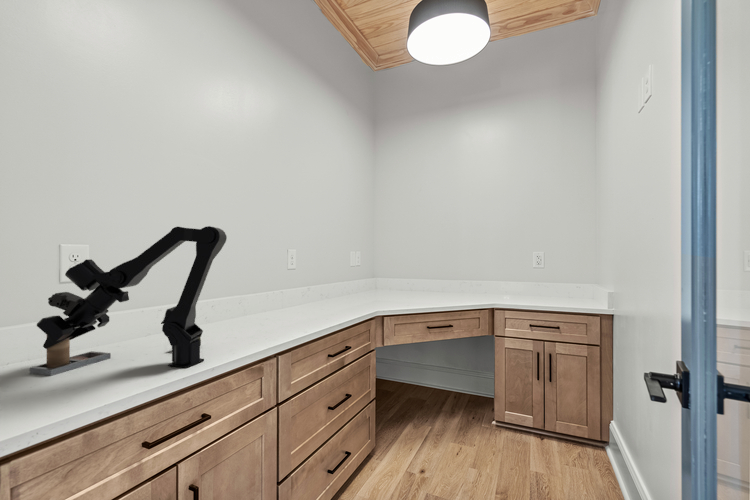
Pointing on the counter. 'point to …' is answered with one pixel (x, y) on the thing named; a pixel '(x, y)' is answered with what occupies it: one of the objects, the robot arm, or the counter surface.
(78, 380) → the counter surface
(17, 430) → the counter surface
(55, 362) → the post
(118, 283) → the robot arm
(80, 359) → the grey divided tray
